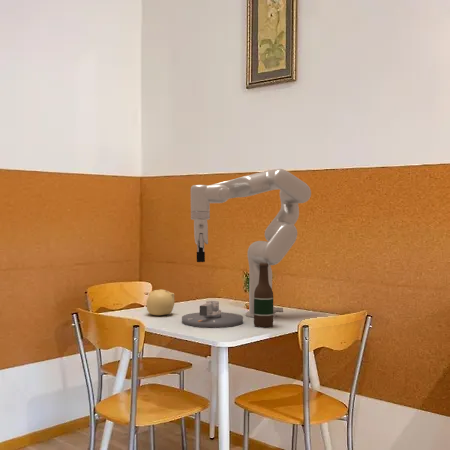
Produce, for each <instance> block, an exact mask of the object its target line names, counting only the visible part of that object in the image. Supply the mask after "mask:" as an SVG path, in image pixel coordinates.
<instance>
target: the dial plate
mask: <svg viewBox="0 0 450 450" xmlns="http://www.w3.org/2000/svg"><path fill="white" fill-rule="evenodd" d="M243 323H244V317H243V315H241V314H237V313H232V312H223V311H221V317H218V318H207V317H204V316H201V315H200V312H192V313H187V314H184V315H182V316H181V324H183V325H185V326H188V327H193V328H203V329H204V328H205V329H217V328H218V329H219V328H220V329H221V328H232V327H238V326H240V325H242V324H243Z"/></svg>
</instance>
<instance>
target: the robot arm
mask: <svg viewBox="0 0 450 450" xmlns="http://www.w3.org/2000/svg"><path fill="white" fill-rule="evenodd" d="M275 190H279V198H280V209H279V211H278V212H277V214H276V216H274V218H273V219H272V221H271V222H270V223H269V224H268V225H267V227H266V229H265V230H264V239H265V240H266V241H265V240H257V241H254V242H252V243H251V244H250V245H249V246H248V249H247V261H248V271H249V273H248V274H249V276H248V277H249V280H248V281H249V282H248V283H249V284H248V285H249V293H248V294H249V295H248V296H249V297H248V299H249V300H248V301H249V303H248V305H249V306H248V307H249V309H248V310H249V311H248V312H246V313H245V317H248V318H251V319H254V292H255V289H256V287H257V285H258V283H259V272H260V266H259V264H260V263H268V281H269V285H270V287H271V288H272V289H273V270H272V266H276V265H277V264H279V263H280V262H281V261H282V260H283V259H284V258H285V256H286V255H287V254H288V252H289V251H290V250H291V248H292V246H294V244H295V243H296V241H297V238H298V229H297V227H296V226H295V224H296V223H297V221H298V220H299V216H300V207H299V204H304V203H307V202H308V201H309V200H310V198H311V196H312V190H311V188H310V186H309V185H308V184H307V183H306V182H305V181H303V180H302V179H300V178H299V177H297V176H296V175H294V174H293V173H291V172H289V171H288V170H286V169H283V168H277V169H267V170H264V171H260V172H256V173H252V174H248V175H243V176H240V177H237V178H234V179H230V180H225V181H221V182H218V183H216V182H215V183H213V184H209V185H207V184H193V185H191V187H190V220H191V221H193V234H194V235H193V237H194V243H195V244H196V262H197V263H205V262H206V252H205V244H206V245H208V244H209V227H208V221H209V220H210V219H211V218H210V217H211V216H210V215H211V213H210V211H211V209H210V208H211V207H210V205H211V204H223V203H226V202H227V201H228V200H229V199H234V198H235V199H236V198H246V197H252V196H255V195H259V194H262V193H267V192H269V191H270V192H271V191H275ZM283 312H284V307H278V306H277V307H276V306H274V305H273V318H274V317H275V318H276V316H277V313H283Z"/></svg>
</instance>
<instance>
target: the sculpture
mask: <svg viewBox="0 0 450 450" xmlns="http://www.w3.org/2000/svg"><path fill="white" fill-rule="evenodd" d="M145 306H146V310H147V312H148V314H149V315H153V316H166V315H170V314H172V312H173V310H174V307H175V293H174V292H170V291H169V290H166V289H161V288H160V289H154V290H152V291H150V292H148V297H147V299H146V303H145Z"/></svg>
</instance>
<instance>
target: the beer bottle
mask: <svg viewBox="0 0 450 450" xmlns="http://www.w3.org/2000/svg"><path fill="white" fill-rule="evenodd" d="M259 266H260V272H259V283H258V285H257V287H256V289H255V292H254V318H253V325H254V327H255V328H272V327H273V326H274V317H273V306H274V292H273V287H272V288H271V287H270V285H269V281H268V263H260V264H259Z"/></svg>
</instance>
